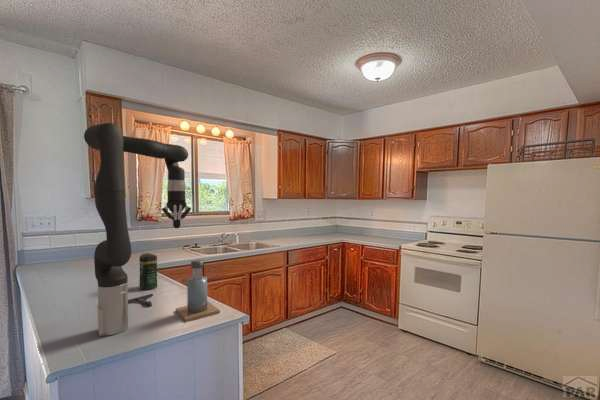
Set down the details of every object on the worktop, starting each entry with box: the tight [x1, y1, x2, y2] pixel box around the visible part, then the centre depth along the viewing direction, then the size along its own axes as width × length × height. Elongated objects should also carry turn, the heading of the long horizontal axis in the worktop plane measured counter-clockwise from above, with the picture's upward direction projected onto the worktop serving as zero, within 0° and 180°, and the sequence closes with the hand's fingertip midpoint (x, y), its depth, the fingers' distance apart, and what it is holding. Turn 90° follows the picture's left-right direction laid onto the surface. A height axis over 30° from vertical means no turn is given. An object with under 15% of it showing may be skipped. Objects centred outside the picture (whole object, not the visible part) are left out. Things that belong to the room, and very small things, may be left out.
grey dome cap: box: [190, 259, 205, 269], centre depth 121 cm, size 5×8×7 cm, turn 39°
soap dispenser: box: [175, 267, 221, 323], centre depth 123 cm, size 14×14×19 cm
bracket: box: [128, 293, 154, 308], centre depth 134 cm, size 14×15×3 cm
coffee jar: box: [138, 252, 158, 291], centre depth 156 cm, size 10×8×19 cm
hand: (176, 228), depth 132 cm, fingers closed
